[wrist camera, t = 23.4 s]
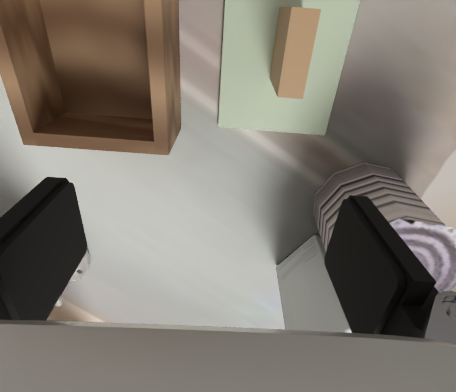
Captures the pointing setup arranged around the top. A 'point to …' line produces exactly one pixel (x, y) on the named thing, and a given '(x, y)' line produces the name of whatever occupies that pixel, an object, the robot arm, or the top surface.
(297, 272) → the skincare box
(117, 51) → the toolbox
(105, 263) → the top surface
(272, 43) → the lid
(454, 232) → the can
